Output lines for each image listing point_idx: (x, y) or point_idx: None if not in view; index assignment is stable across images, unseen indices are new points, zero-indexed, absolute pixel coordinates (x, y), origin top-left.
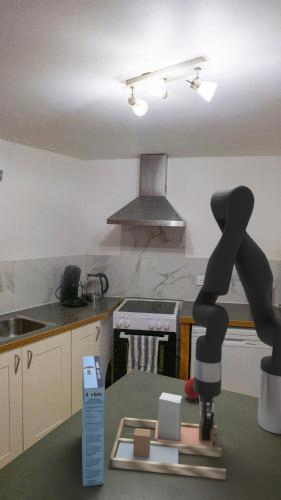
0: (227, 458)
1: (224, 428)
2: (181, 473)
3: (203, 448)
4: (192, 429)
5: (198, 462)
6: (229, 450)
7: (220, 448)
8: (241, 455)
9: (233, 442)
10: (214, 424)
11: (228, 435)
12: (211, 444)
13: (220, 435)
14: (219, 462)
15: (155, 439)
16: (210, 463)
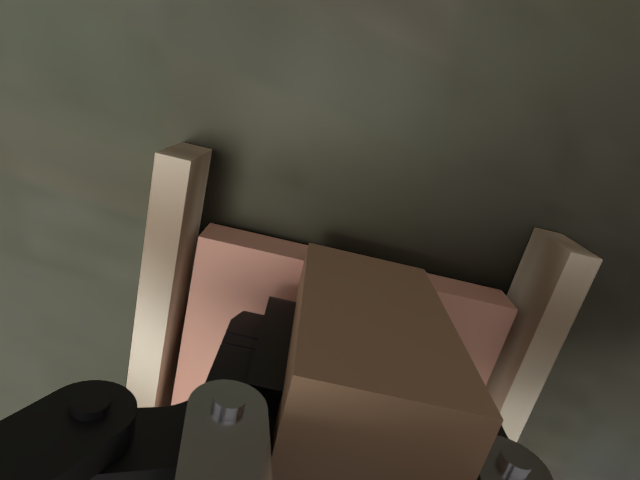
0: (592, 180)
1: (98, 6)
2: None
3: (527, 413)
4: None
5: (569, 425)
6: (488, 111)
7: (580, 262)
8: (593, 7)
9: (369, 4)
10: (489, 399)
11: (237, 11)
12: (458, 308)
13: (235, 112)
14: (619, 271)
15: None
16: (607, 346)
